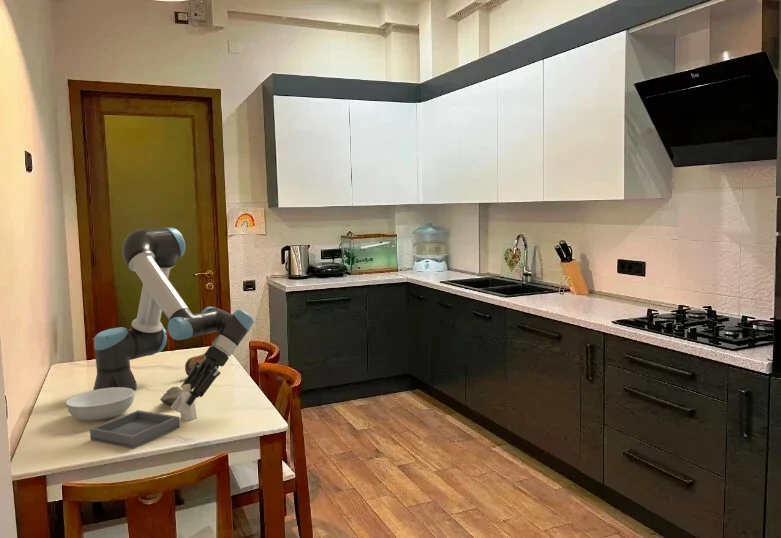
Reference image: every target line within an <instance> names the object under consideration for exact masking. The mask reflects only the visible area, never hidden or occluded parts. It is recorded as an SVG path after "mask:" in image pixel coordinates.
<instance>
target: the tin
mask: <svg viewBox="0 0 781 538" xmlns="http://www.w3.org/2000/svg"><path fill="white" fill-rule="evenodd" d="M205 359H206V356H205V352H204V353H202V354H198V355H196V356H192V357H190V358H188V359H187V361H186V362H185V365H184V370H185V374H186V375H187V377H188V376H189V374H190V373H191V371H192V370H193V369H194V367H195V364H196V363H197V362H198V363H202V362H203V361H204V360H205Z"/></svg>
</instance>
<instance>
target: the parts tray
mask: <svg viewBox="0 0 781 538" xmlns="http://www.w3.org/2000/svg"><path fill="white" fill-rule="evenodd" d="M180 428H181V425H180V416H177V415H169V414H164V413H159V412H158V413H157V412H151V411H145V410H140V409H139V410H136V411H135V410H134V411H132V412H130V413H126V414H125V415H121V416H119V417H117V418H114V419H112V420H109V421H107V422H104V423H102V424H99V425H96V426H94V427H91V428H89V435H90V436H89V438H90V441H93V442H98V443H101V444H106V445H107V444H108V445H112V446H118V447H122V448H127V449H132V450H134V449H136V448H138V447H141V446H143V445H145V444H147V443H149V442H151V441H154V440H156V439H158V438H160V437H162V436H165V435H167V434H169V433H172V432H173V431H175V430H177V429H180Z"/></svg>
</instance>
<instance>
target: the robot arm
mask: <svg viewBox="0 0 781 538" xmlns="http://www.w3.org/2000/svg"><path fill="white" fill-rule="evenodd" d="M121 249H122V251H121V252H122V257H123V261H124V263H125V264H126V266H127V267H128V269H129V270H130V271H132V272H135V273H136V275H137V277H138V278H139V280H140V281H141V282H142V289H141V292H140V293H141V294H140V299H139V305H138V309H137V316H136V318H135V319H133V320H132V321H131V323H130V329H127V328H126V327H122V326H121V327H120V326H119V327H114V328H108V329H105V330H103V331H100V332H98V333H97V334H95V336H94V338H93V340H94V341H93V343H94V344H93V349H94V353H95V355H94V356H95V366H96V376H95V381H94V386H93V388H92V390H97V389H104V388H114V387H124V388H130V389H132V390H134V391H135V390H137V388H138V386H137V380H136V379H135V376H134V374H133V371H132V369H131V363H130V361H131V360H135V359H139V358H143V357H149V356H153V355H156V354H158V353H161V352H162V351H163V350H164V348H165V347H166V345H167V341H168V340H167V339H168V335H167V331H168V334H169V336H170V338H172V339H173V340H176V341H181V340H187V339H188V340H189V339H190V338H193V337H198V336H202V335H207V334H211V333H215V332H217V333H219V334H218V335H217V336H216V337H215V339H214V340H213V341H212V343H211V345H210V346H209V347H208V348H207V350H206V351H205V352H204V353H205V356H206V359H205V360H204V361H203V362H202V363H198V362H197V363H196V364H195V367H194V369H193V370H192V371H191V373H190V374H189V376H188V375H187V377H186V379H185V380H184V382H183V383H182V384H181V386H180V388H181V389H182V390H183V388H182V386H183V385H185V384H190V385H191V391H190V393H191V394H190V393H189V394H188V395H187V397H186V398H185V400H184V401H183V402H182V404H181V395H182V392H183V391H182V392H181V394H180V395H179V396H178V398H177V399H176V400H175V402H174V403H173V405H172V406H170V408H171V409H172V410H174V411H175V412H176V413H180V415H181V414H182V415H184V414H185V413H186V412H187V410H188V409H189V407H190V406H191V405H192V403H193V402H194V401H195V400H196V399H197V398H202V397H203V396H204V395H205V394H206V392H207V391H208V390H209V388H210V386H211V385H212V384H213V383H214V381H215V380H216V378H217V377H219V376H220V375H221V371H220V370H219V368H220V367H224V366H225V365H226V363H228V360H229V357H232V355H233V353H234V352H235V350H236V349H237V348H238V346H239V345H240V344H241V342H242V340H243V339H245V337H246V335H247V334H248V332H250V330H251V328H252V326H253V324H254V323H255V319H254V318H253V317H252V316H251V315H250V314H249V313H248V312H246V311H244V310H243V309H236V310H235V311H234V312H233V313H229V312H227V311H225V310H222V309H221V308H219V307H214V306H207V307H205V308H204V309H203V310H201V312H197V313H193V312H192V311H191V309H190V308H189V307H188V305H187V304H186V302H185V301H184V299H183V298H182V296H181V295H180V293H179V292H178V291H177V290H176V288H175V287H174V286H173V284H172V282H171V281H170V280H169V276H170V272H171V269H172V268H174V267H176V263H177V259H180V258H182V257H183V256H184V254H185V252H186V241H185V238H184V236H183V234H182V233H181V232H180V231H179V230H178V229H177V228H174V227H167V226H165V227H157V228H146V229H145V228H140V229H136V230H134V231H132V232H131V233H129V234H127V236H126V238H125V239H124V240H123V243H122V247H121ZM162 312H163V313H164V315H165V317H166V318H167V320H168V323H167V331H166V329H165V327H164V325H163V323H162V322H161V317H162Z"/></svg>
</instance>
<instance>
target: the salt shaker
mask: <svg viewBox="0 0 781 538" xmlns="http://www.w3.org/2000/svg"><path fill="white" fill-rule="evenodd" d="M181 386H182V385H181ZM182 388H183V392H182V395H181V404H182V402H183V401H184V400H185V398H186V397H187V395H188V394H189V393H190V391H191V385H190V384H185V385H183V386H182ZM182 388H181V389H182ZM190 394H191V393H190ZM197 418H198V413H197V407H196V402H195V400H194V402H193V403H192V405H191V406H190V407H189V409H188V410H187V412H186V413H185V414H184V415H182V414H181V413H180V420H181V421H193V420H195V419H197Z"/></svg>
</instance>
